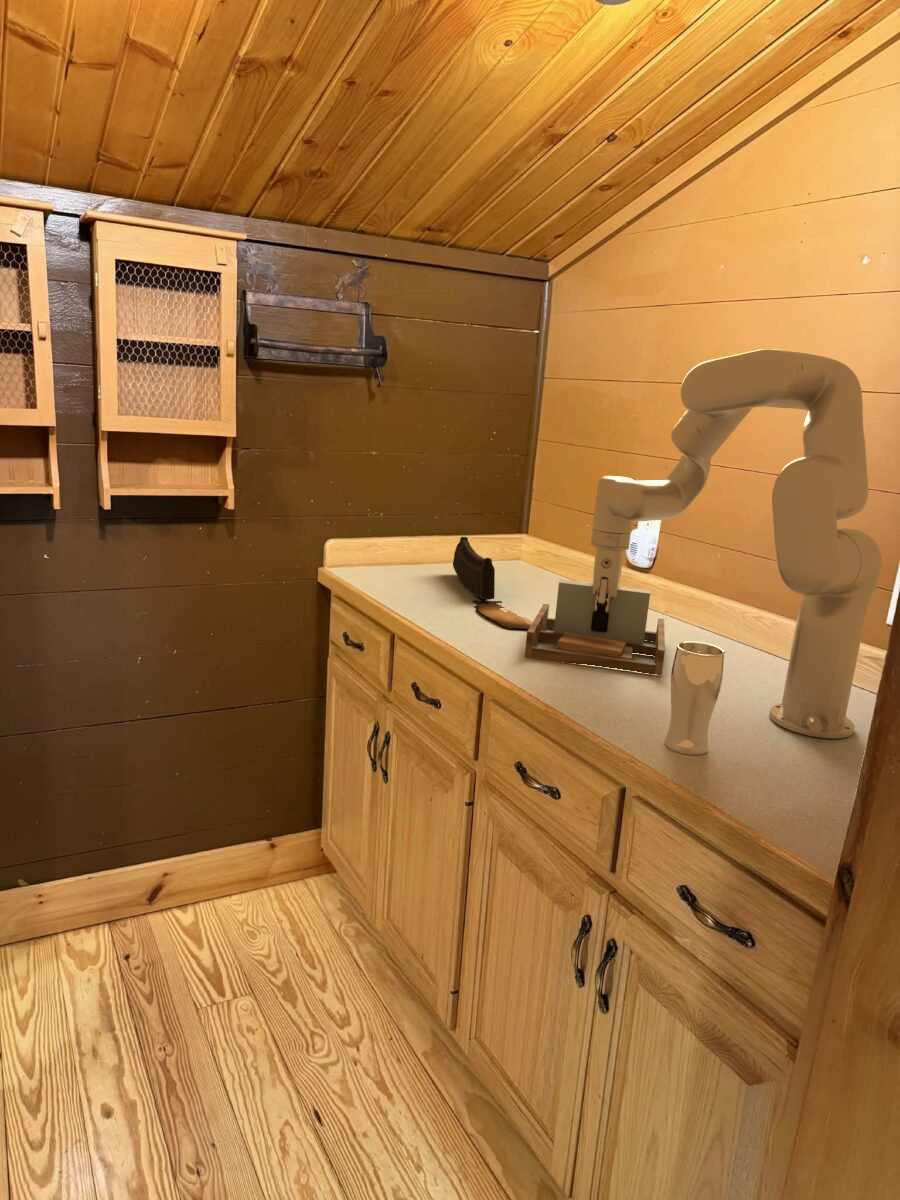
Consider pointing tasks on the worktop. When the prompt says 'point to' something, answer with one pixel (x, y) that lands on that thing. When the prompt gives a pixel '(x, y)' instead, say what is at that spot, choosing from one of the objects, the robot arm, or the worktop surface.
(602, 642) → the offcut stack
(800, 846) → the worktop surface
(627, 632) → the tall board
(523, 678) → the worktop surface
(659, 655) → the rack
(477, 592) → the magazine
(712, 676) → the beer glass
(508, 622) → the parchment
